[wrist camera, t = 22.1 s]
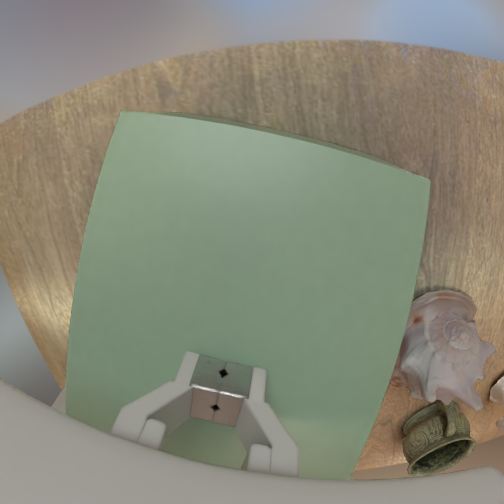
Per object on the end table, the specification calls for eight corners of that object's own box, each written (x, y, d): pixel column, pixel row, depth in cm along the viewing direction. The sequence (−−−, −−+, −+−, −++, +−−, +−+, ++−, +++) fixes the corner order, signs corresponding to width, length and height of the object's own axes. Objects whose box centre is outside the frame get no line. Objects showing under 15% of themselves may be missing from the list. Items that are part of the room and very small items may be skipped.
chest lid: (335, 491, 12) (338, 500, 11) (72, 430, 12) (65, 437, 11) (422, 184, 13) (431, 180, 12) (127, 117, 13) (121, 109, 12)
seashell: (492, 287, 22) (545, 350, 14) (450, 381, 27) (477, 447, 19) (399, 284, 23) (442, 364, 15) (366, 387, 28) (382, 465, 20)
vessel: (405, 399, 29) (418, 444, 23) (473, 381, 27) (492, 420, 22) (391, 450, 33) (398, 488, 28) (449, 435, 32) (460, 470, 26)
